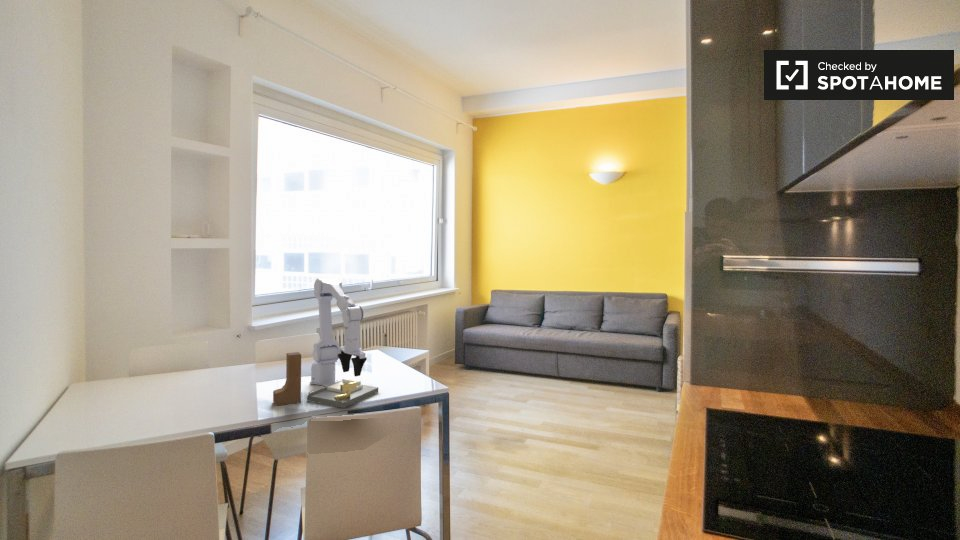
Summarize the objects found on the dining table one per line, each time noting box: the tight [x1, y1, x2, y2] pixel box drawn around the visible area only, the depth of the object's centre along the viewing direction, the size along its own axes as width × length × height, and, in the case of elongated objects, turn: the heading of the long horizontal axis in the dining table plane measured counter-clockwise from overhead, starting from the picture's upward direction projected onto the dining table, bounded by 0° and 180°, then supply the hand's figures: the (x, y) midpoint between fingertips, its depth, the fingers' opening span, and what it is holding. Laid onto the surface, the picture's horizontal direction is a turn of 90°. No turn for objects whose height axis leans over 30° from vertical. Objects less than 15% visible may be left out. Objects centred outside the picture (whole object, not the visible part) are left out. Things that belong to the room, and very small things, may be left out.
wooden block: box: [272, 351, 302, 406], centre depth 184 cm, size 9×4×18 cm, turn 121°
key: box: [334, 382, 357, 400], centre depth 185 cm, size 8×1×5 cm, turn 137°
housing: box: [306, 379, 379, 409], centre depth 193 cm, size 17×21×3 cm
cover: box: [327, 377, 364, 393], centre depth 196 cm, size 10×9×2 cm
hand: (351, 373), depth 190 cm, fingers open, 7 cm apart
